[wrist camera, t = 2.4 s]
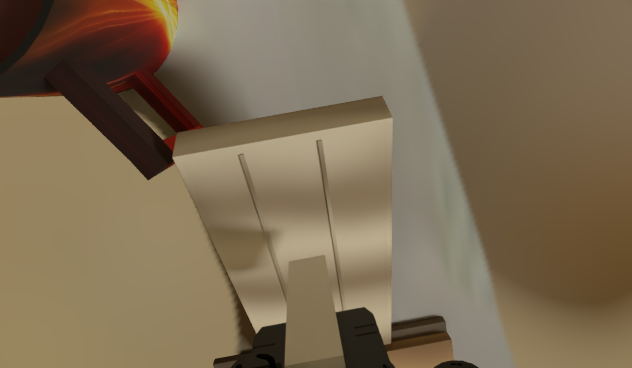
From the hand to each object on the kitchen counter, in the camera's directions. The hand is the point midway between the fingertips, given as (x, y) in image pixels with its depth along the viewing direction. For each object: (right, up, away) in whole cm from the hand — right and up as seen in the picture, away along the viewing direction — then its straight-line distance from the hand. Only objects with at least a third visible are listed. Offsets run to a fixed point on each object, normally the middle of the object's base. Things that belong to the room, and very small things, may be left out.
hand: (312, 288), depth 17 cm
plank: (0, 0, +5) cm, 5 cm away
